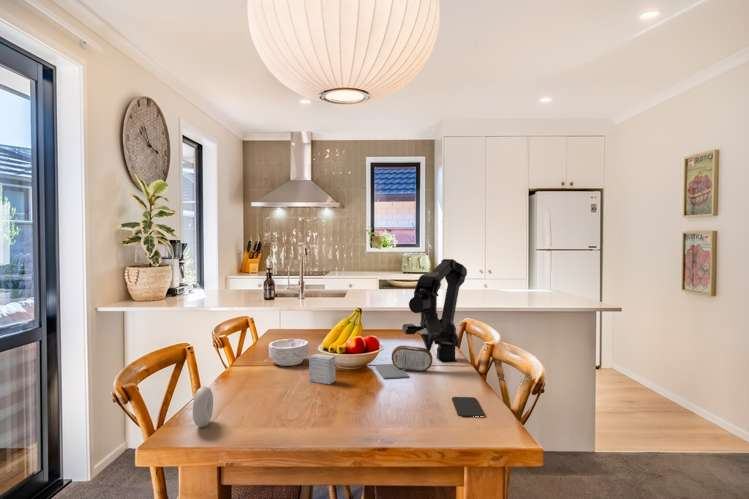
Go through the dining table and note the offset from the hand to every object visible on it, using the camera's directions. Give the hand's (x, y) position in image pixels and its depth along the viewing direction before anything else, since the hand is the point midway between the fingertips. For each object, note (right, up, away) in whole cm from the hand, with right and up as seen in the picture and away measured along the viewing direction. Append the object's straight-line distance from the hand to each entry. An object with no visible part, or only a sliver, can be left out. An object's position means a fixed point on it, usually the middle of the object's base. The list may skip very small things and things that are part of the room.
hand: (428, 351), depth 169 cm
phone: (+7, -8, -37) cm, 38 cm away
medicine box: (-37, -7, -14) cm, 41 cm away
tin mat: (-14, -7, -3) cm, 16 cm away
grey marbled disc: (-64, -8, -51) cm, 82 cm away
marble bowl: (-53, -7, +8) cm, 54 cm away
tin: (-6, -7, -1) cm, 9 cm away
